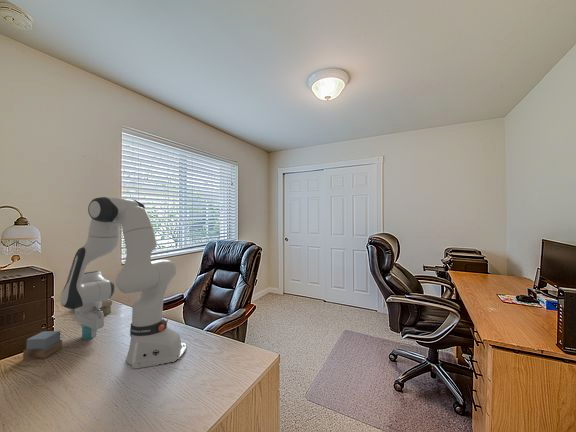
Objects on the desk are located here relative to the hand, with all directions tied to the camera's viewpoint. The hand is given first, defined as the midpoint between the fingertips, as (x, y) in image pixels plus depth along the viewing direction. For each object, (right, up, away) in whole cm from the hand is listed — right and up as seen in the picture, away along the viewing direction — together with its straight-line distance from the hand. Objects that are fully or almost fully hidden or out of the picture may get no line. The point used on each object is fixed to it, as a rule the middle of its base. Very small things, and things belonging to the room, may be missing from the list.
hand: (88, 334), depth 112 cm
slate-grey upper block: (-7, +2, -14) cm, 16 cm away
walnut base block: (-7, -2, -14) cm, 16 cm away
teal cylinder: (0, -2, 0) cm, 2 cm away
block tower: (-25, -3, +34) cm, 42 cm away
